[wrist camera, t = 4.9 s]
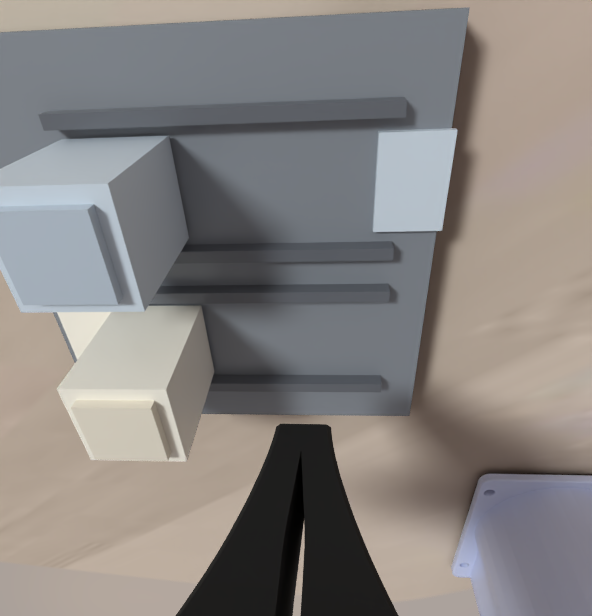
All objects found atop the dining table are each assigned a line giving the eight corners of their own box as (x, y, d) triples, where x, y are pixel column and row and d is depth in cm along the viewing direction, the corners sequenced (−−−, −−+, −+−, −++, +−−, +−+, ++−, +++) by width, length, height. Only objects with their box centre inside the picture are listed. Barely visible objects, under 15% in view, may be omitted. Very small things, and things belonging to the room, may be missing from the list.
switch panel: (407, 394, 18) (414, 425, 17) (107, 392, 19) (91, 422, 18) (460, 7, 11) (480, 7, 9) (-35, 33, 12) (-83, 37, 10)
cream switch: (214, 371, 16) (184, 470, 13) (137, 371, 17) (86, 468, 13) (201, 305, 15) (162, 397, 11) (115, 305, 15) (50, 397, 11)
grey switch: (189, 237, 13) (140, 319, 10) (94, 239, 14) (13, 320, 10) (168, 135, 12) (101, 188, 8) (61, 139, 12) (-50, 193, 8)
